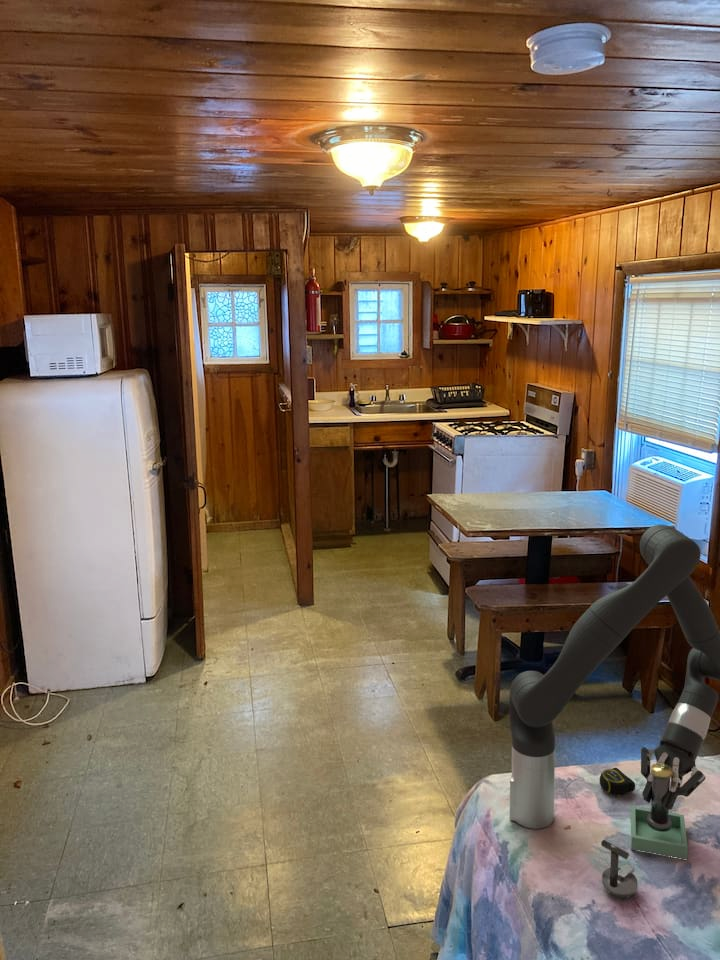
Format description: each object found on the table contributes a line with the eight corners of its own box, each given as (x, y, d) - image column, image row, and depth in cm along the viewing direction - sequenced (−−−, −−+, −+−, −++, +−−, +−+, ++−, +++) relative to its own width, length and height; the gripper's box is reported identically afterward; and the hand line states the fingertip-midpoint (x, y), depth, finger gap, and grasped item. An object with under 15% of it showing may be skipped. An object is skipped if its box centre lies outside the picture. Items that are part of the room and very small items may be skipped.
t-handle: (625, 909, 138) (627, 857, 135) (595, 890, 142) (596, 840, 140) (645, 890, 142) (647, 840, 140) (614, 872, 147) (616, 824, 145)
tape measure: (636, 795, 171) (637, 780, 170) (611, 801, 169) (611, 786, 168) (617, 778, 177) (618, 764, 177) (593, 784, 175) (593, 770, 175)
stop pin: (647, 829, 154) (649, 773, 152) (646, 815, 159) (648, 760, 156) (672, 833, 153) (674, 777, 150) (670, 819, 157) (673, 763, 154)
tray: (631, 850, 153) (631, 837, 152) (630, 818, 163) (631, 806, 162) (686, 860, 149) (687, 847, 149) (683, 827, 159) (683, 815, 159)
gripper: (649, 711, 162) (617, 784, 156) (714, 736, 151) (682, 815, 146) (660, 724, 166) (630, 796, 161) (724, 749, 155) (694, 827, 150)
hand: (655, 805), depth 153 cm, fingers closed on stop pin, 3 cm apart
